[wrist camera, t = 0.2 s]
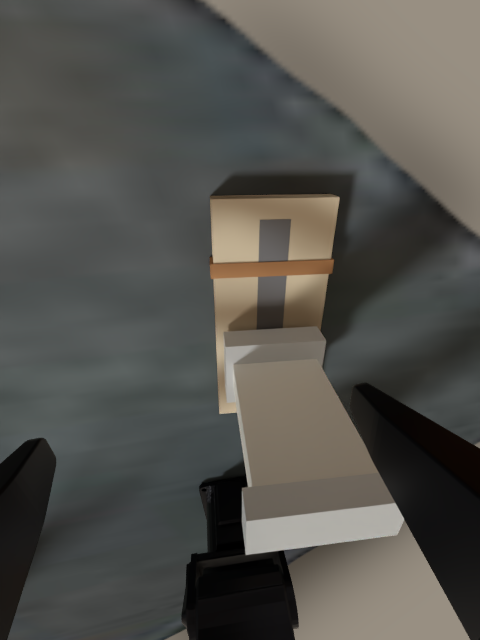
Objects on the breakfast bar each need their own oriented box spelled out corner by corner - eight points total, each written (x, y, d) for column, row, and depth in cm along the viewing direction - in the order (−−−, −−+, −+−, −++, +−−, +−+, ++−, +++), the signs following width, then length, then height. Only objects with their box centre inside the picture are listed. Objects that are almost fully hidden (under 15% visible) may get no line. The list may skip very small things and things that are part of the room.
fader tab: (309, 378, 26) (391, 548, 15) (224, 385, 25) (245, 568, 14) (316, 326, 24) (420, 483, 13) (223, 331, 23) (246, 503, 12)
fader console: (306, 394, 29) (312, 406, 28) (216, 401, 29) (217, 415, 27) (333, 193, 21) (343, 197, 20) (206, 195, 20) (207, 199, 19)
